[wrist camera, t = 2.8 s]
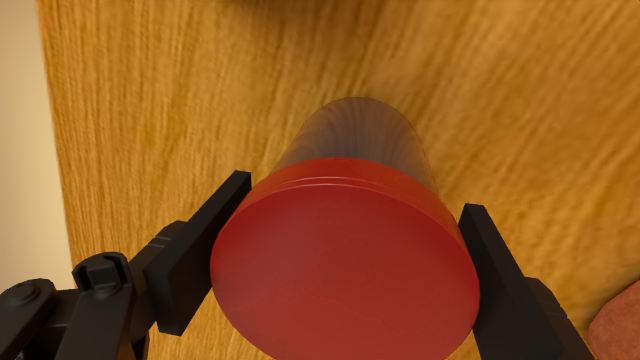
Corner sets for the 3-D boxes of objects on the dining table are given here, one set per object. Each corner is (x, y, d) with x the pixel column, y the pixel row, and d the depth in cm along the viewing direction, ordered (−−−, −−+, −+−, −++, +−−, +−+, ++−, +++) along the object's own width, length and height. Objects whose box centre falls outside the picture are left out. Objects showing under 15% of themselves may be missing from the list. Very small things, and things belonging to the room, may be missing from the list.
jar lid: (207, 284, 13) (184, 321, 12) (272, 108, 9) (251, 126, 8) (385, 363, 14) (386, 408, 12) (523, 230, 10) (551, 271, 8)
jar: (276, 183, 21) (200, 310, 12) (324, 72, 17) (266, 134, 8) (380, 232, 22) (383, 390, 12) (449, 135, 18) (528, 260, 9)
